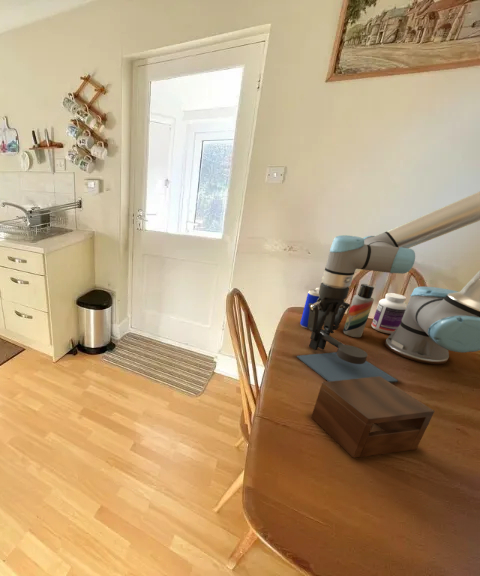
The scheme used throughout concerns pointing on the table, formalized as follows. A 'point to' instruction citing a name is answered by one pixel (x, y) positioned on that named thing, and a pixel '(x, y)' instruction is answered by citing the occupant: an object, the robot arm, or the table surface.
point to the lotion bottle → (359, 311)
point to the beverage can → (311, 298)
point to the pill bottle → (389, 313)
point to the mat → (341, 368)
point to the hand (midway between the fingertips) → (316, 347)
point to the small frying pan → (346, 350)
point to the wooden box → (370, 416)
